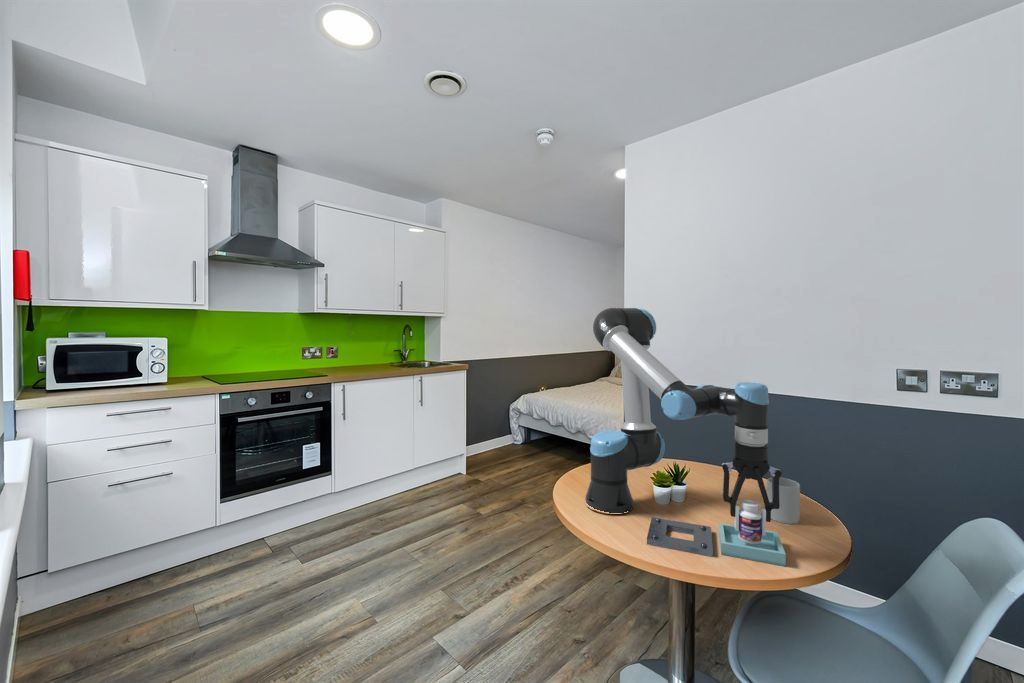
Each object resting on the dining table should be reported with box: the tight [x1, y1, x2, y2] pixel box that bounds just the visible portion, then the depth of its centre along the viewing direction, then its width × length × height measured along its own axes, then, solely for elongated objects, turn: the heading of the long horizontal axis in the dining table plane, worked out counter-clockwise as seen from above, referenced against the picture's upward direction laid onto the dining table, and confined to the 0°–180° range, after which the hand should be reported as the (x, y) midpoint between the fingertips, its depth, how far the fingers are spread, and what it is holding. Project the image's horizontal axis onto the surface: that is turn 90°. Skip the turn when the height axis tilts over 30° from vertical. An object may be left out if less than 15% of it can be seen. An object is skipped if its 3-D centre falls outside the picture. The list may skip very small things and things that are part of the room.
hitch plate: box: [646, 516, 714, 558], centre depth 117 cm, size 16×14×2 cm
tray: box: [718, 522, 787, 567], centre depth 111 cm, size 14×12×3 cm
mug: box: [766, 477, 801, 525], centre depth 130 cm, size 12×8×11 cm
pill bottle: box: [738, 499, 762, 544], centre depth 110 cm, size 5×5×10 cm
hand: (749, 530), depth 111 cm, fingers closed on pill bottle, 5 cm apart
